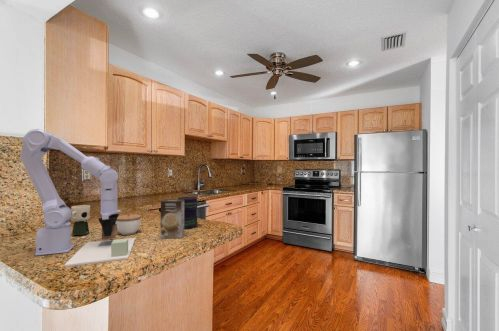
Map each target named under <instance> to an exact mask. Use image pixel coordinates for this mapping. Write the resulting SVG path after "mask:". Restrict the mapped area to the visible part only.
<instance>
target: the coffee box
mask: <svg viewBox="0 0 499 331" xmlns="http://www.w3.org/2000/svg"><path fill="white" fill-rule="evenodd" d="M159 232H160V233H159V234H160V237H159V238H160V239H181V238H183V236H184V235H185V229H184V200H180V199H178V198H177V199H175V198H174V199H171V198H169V199H168V198H166V199H163V200H161V201H160V230H159Z"/></svg>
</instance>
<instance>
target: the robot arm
mask: <svg viewBox="0 0 499 331" xmlns="http://www.w3.org/2000/svg"><path fill="white" fill-rule="evenodd" d="M21 140H22V147H21V151H20V161H21V162H22V164H23V167H24V169H25V170H26V172H27V174H28V176H29V179H30V181H31V182H32V185H33V187H34V190H35V191H36V193H37V195H38V197H39V199H40V201H41V203H42V209H41V212H42V213H43V224H44V225H45V226H44V227H40V228H38V230H37V231H36V236H35V254H34V256H45V255H54V254H55V255H56V254H62V253H63V254H65V253H68V252H69V251H71V249H73V248H74V247H75V246H76V245H75V244H72V243H71V242H72V239H71V238H72V226H71V225H72V223H71V221H70V220H71V217H72V210H71V208H70V207H69V206H67V205H66V203H65V201H64V200H63V199H62V198H61V197H60V195H59V193H58V191H57V189H56V187H55V184H54V182H53V180H52V178H51V177H50V174H49V172H48V170H47V167H46V166H45V164H44V161H43V158H44V156H45V155H46V153H48V152H49V151H51V150H52V149H53V150H58V151H61V152H62V153H64V154H66V156H67V155H68V156H69V157H71V158H73V159H74V160H75V161H77V162H78V163H80V167H81V169H83V170H84V171H86V172H88V173H89V174H90V175H91V176H92V177H93V176H94V177H95V178H96V179H98V178H99V182H101V183H100V184H101V186H100V187H101V188H100V212H99V215H101V217H99V218H98V222H99V224H100V225H101V230H102V229H103V233H104V236H111V234H112V228H113V224H116V220H117V218H118V216H120V213H121V212H122V210H121V209H118V204H119V203H118V196H119V195H118V191H119V190H118V182H117V181H118V179H119V174H118V172H117V171H115V169H113V168H111V166H110V165H106V164H105V163H104V162H102V161H100V158H99V157H97V156H96V157H94V156H92V155H91V156H86V155H85V154H84V153H83V152H81V151H80V150H79V149H78V148H76V147H74V146H73V145H72V144H70V143H69V142H67V141H66V140H64V139H63V138H60V137H58V136H56V135H54V133H51V132H48V131H45V130H43V129H40V128H33V129H30V130H28V131H27V133H26V134H25V135H24V136H23V137H22V139H21Z"/></svg>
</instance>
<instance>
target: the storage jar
mask: <svg viewBox="0 0 499 331" xmlns="http://www.w3.org/2000/svg"><path fill="white" fill-rule="evenodd" d="M177 199H180V200H184V230H193V228H194V229H196V228H198V212H197V210H198V197H196V196H181V197H178V198H177Z"/></svg>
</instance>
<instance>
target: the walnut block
mask: <svg viewBox="0 0 499 331" xmlns="http://www.w3.org/2000/svg"><path fill="white" fill-rule="evenodd" d="M117 236H118V230H117V224H116V223H115V224H113V228H112V234H111V236H104V233H103V229H102V228H101V240H113V239H116V237H117Z"/></svg>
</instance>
